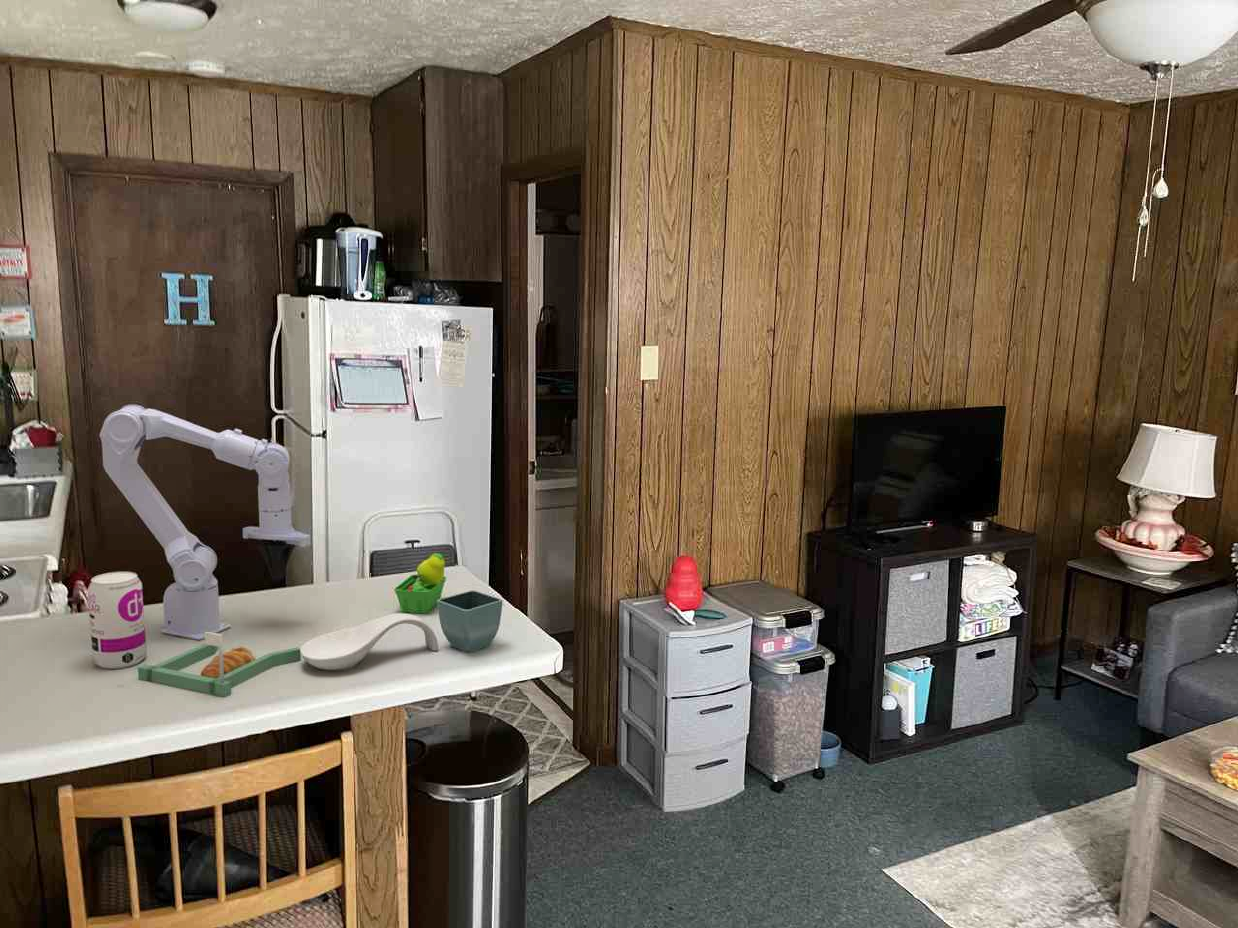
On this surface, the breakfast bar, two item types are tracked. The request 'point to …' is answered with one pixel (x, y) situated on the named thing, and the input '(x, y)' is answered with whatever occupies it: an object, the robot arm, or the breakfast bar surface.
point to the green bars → (222, 685)
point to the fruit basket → (422, 586)
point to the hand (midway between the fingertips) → (278, 578)
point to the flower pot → (470, 619)
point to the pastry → (228, 662)
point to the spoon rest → (357, 642)
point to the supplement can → (117, 620)
